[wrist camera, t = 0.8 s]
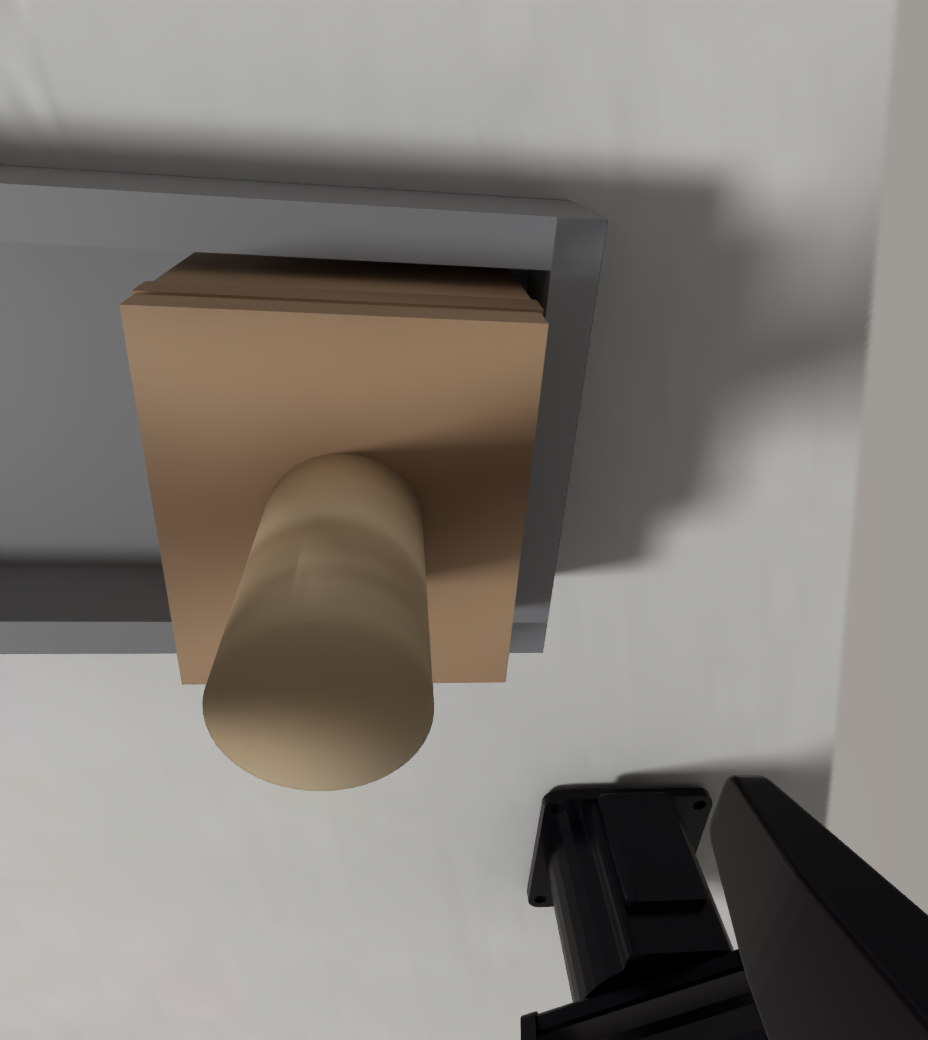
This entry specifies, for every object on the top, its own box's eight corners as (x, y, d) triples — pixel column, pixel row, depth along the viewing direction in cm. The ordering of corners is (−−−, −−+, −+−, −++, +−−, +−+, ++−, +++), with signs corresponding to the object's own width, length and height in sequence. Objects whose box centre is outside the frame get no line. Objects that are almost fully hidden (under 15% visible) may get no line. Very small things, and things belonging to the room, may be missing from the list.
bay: (523, 579, 22) (542, 652, 19) (-177, 573, 20) (-278, 654, 17) (570, 200, 17) (607, 219, 14) (-368, 141, 15) (-560, 149, 12)
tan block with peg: (484, 563, 21) (547, 892, 12) (227, 560, 20) (95, 910, 11) (511, 266, 17) (637, 436, 8) (192, 249, 16) (-54, 415, 7)
